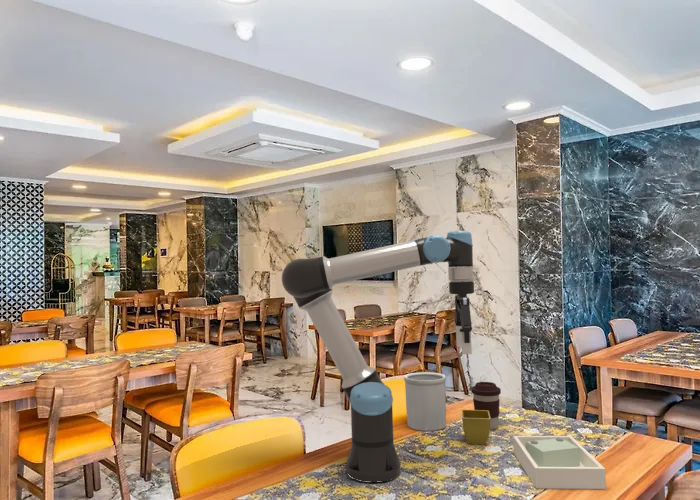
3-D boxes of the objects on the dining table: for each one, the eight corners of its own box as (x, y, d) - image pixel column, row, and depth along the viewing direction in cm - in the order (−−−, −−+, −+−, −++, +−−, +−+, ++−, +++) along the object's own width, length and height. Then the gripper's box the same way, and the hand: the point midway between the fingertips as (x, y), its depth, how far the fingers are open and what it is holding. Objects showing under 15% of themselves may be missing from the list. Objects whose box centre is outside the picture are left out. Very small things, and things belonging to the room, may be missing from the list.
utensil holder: (401, 420, 183) (400, 372, 184) (440, 417, 185) (439, 370, 186) (410, 433, 169) (409, 381, 169) (453, 430, 170) (451, 379, 171)
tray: (536, 488, 125) (535, 468, 125) (513, 452, 149) (513, 435, 149) (606, 489, 123) (605, 468, 123) (572, 453, 147) (571, 436, 147)
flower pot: (491, 447, 153) (490, 418, 154) (463, 446, 155) (462, 417, 155) (489, 438, 162) (488, 410, 162) (462, 436, 164) (461, 409, 164)
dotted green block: (543, 470, 133) (542, 450, 133) (527, 459, 141) (526, 440, 141) (579, 466, 135) (579, 446, 135) (561, 455, 143) (561, 437, 143)
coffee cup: (505, 431, 168) (504, 386, 168) (476, 432, 168) (474, 387, 168) (497, 422, 178) (495, 380, 178) (469, 422, 178) (468, 380, 178)
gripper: (480, 281, 140) (483, 357, 139) (467, 279, 165) (470, 343, 164) (453, 282, 141) (456, 357, 140) (445, 280, 165) (447, 343, 165)
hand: (463, 350), depth 152 cm, fingers open, 13 cm apart
